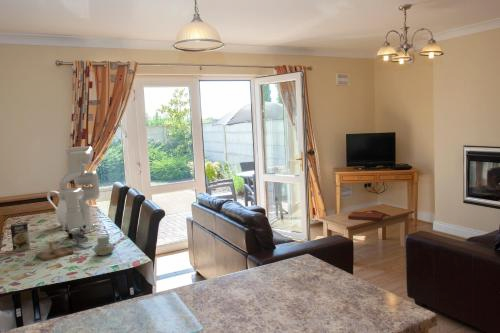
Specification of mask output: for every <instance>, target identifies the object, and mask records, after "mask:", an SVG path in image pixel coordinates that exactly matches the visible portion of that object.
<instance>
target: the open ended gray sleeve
mask: <svg viewBox="0 0 500 333" xmlns="http://www.w3.org/2000/svg"><path fill="white" fill-rule="evenodd" d="M71 235H72V240H71V239H69V238H68V239H69V241H71V242H74V244H76V245H80V244H84V243H87V242H89V238H88V237H87V236H85V234H84V235H83V231H81V230H79V229H78V228H77V229H75V230H74V229H73V230H71Z"/></svg>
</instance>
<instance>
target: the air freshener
mask: <svg viewBox="0 0 500 333" xmlns="http://www.w3.org/2000/svg"><path fill="white" fill-rule="evenodd" d="M114 249H115V245H114V244H113V243H112V242H110V241H109V236H108V235H101V236H98V237H97V244H96V245H95V246H94V248H93V252H94V254H96V255H98V256H107V255H109V254H111V253H112V252H113V251H114Z"/></svg>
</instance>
